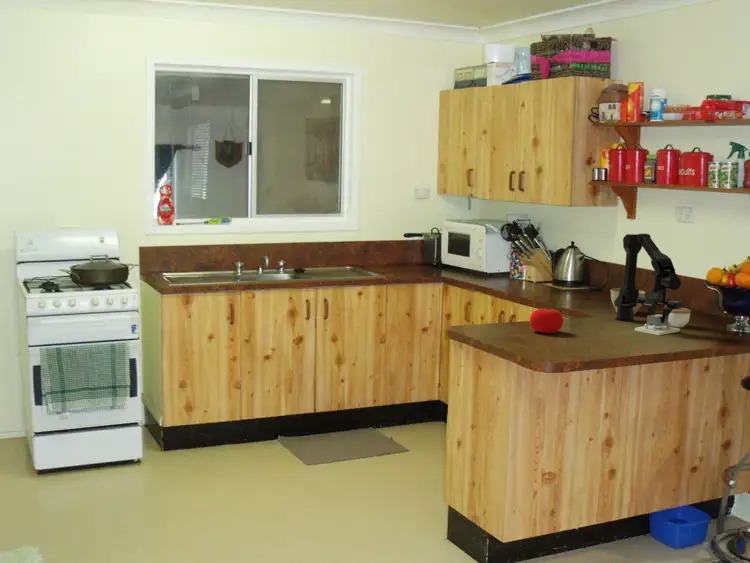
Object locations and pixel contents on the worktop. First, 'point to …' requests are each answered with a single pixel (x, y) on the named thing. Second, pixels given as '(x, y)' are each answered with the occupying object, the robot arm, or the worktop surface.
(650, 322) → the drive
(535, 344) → the worktop surface
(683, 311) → the lidded jar
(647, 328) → the white peg board
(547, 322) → the tomato
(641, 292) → the planter bowl
